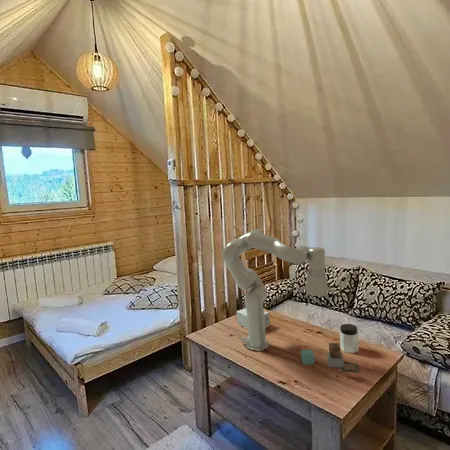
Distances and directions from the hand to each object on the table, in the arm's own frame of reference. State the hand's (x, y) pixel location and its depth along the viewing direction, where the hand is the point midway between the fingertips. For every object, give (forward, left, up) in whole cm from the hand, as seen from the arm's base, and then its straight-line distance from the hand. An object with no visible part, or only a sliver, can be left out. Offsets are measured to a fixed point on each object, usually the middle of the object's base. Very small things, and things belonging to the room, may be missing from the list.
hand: (316, 305), depth 165 cm
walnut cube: (+8, -9, -21) cm, 24 cm away
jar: (+15, +6, -25) cm, 30 cm away
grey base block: (+8, -9, -25) cm, 28 cm away
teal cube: (-5, -9, -25) cm, 27 cm away
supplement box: (-39, +30, -26) cm, 56 cm away
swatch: (+14, -12, -25) cm, 31 cm away
